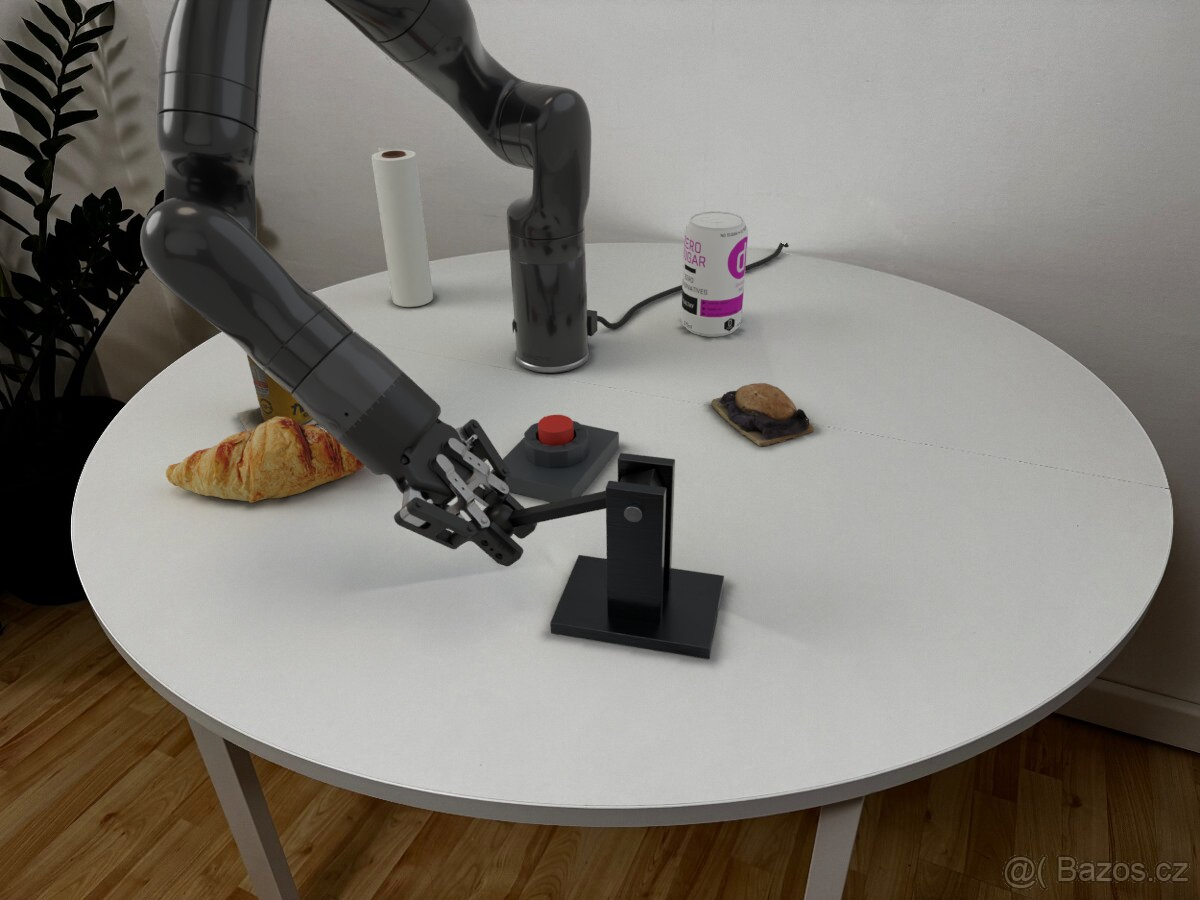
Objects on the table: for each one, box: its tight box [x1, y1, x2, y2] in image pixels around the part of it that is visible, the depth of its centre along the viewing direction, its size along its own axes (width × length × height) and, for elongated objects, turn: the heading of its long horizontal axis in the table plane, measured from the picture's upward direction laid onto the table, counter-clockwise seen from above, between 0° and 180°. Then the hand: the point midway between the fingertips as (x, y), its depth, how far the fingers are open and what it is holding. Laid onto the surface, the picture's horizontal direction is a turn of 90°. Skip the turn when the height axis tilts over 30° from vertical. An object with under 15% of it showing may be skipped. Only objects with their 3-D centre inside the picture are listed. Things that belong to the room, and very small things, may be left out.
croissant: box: [165, 416, 365, 504], centre depth 91 cm, size 21×10×8 cm, turn 101°
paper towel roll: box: [371, 147, 434, 308], centre depth 128 cm, size 7×6×21 cm
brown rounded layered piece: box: [710, 382, 815, 447], centre depth 101 cm, size 11×8×4 cm
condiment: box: [236, 353, 319, 431], centre depth 100 cm, size 7×8×12 cm
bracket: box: [549, 452, 725, 660], centre depth 72 cm, size 13×9×14 cm
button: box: [537, 414, 574, 446], centre depth 92 cm, size 4×4×2 cm
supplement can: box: [680, 210, 749, 338], centre depth 119 cm, size 8×8×15 cm
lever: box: [482, 469, 662, 538], centre depth 71 cm, size 16×3×3 cm, turn 76°
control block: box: [490, 416, 620, 503], centre depth 93 cm, size 12×9×4 cm
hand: (522, 544), depth 75 cm, fingers closed on lever, 3 cm apart
